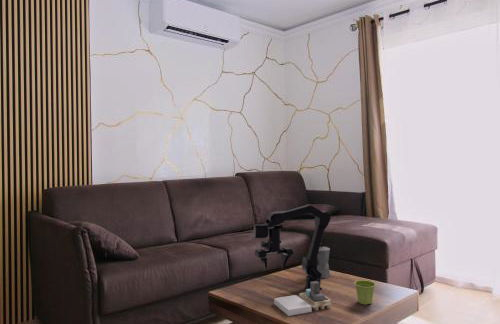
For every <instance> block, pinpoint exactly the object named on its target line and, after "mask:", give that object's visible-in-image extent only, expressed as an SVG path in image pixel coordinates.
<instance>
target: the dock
mask: <svg viewBox="0 0 500 324" xmlns="http://www.w3.org/2000/svg"><path fill="white" fill-rule="evenodd" d="M273 304H274V305H275V306H276V308H279V310H281V311H282V312H283V313H284V314H285V315H286V316H288V317H291V316H297V315H301V314H302V315H303V314H307V313H312V312H313V311H312V310H313V308H312V306H311V305H309V304H308V303H307V302H305V301H304V300H302V299H301V298H299V295H297V294H294V295H287V296H280V297H274V298H273Z"/></svg>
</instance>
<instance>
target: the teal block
mask: <svg viewBox="0 0 500 324" xmlns="http://www.w3.org/2000/svg"><path fill="white" fill-rule="evenodd" d="M305 292H306V296H307V297H308V298H311V292H310V289H307V288H306V289H305Z"/></svg>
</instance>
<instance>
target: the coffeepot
mask: <svg viewBox="0 0 500 324" xmlns="http://www.w3.org/2000/svg"><path fill="white" fill-rule="evenodd" d="M330 252H331V248H330V247H328V246H324V243H322V242H321V244H320V248H319V252H318V256H317V263H318V265H317V270H318V271H319V272H320V273H321V274H322V275H321V278H320V279H328V278H330V277H331V273H330V266H329V259H330Z"/></svg>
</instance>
